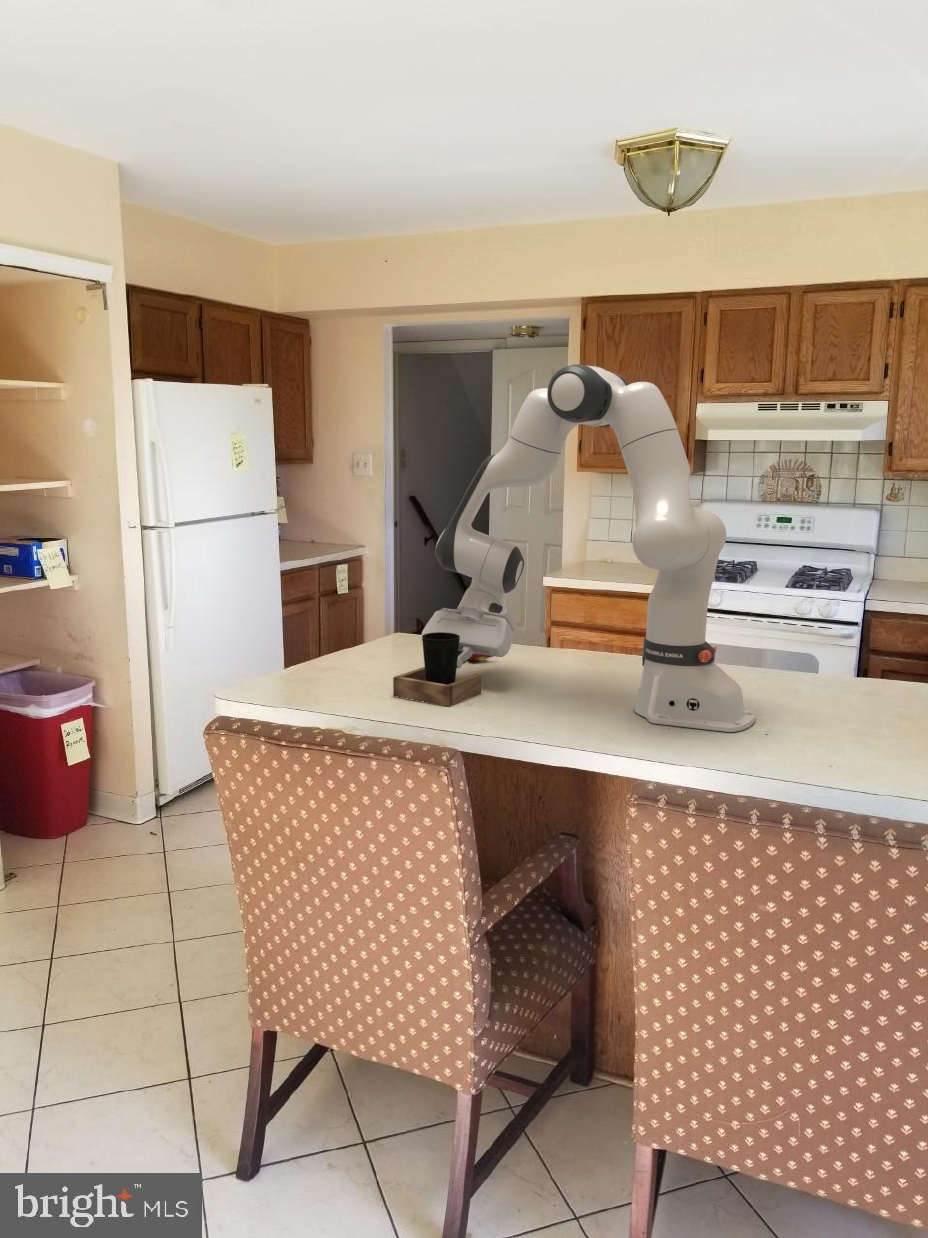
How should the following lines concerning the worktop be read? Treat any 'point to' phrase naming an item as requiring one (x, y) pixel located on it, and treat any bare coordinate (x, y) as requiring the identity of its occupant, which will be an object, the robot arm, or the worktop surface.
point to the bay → (435, 688)
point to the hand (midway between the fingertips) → (452, 665)
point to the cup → (440, 656)
